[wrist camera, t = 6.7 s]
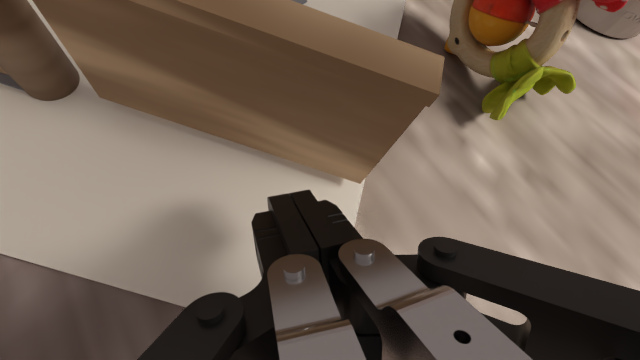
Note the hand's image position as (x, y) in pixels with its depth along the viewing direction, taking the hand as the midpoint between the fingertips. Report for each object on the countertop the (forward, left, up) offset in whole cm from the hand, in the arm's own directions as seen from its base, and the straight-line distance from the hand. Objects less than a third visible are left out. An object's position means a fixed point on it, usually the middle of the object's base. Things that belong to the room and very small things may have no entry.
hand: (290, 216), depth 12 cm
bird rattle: (-15, +9, -5) cm, 18 cm away
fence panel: (-4, -4, -3) cm, 6 cm away
